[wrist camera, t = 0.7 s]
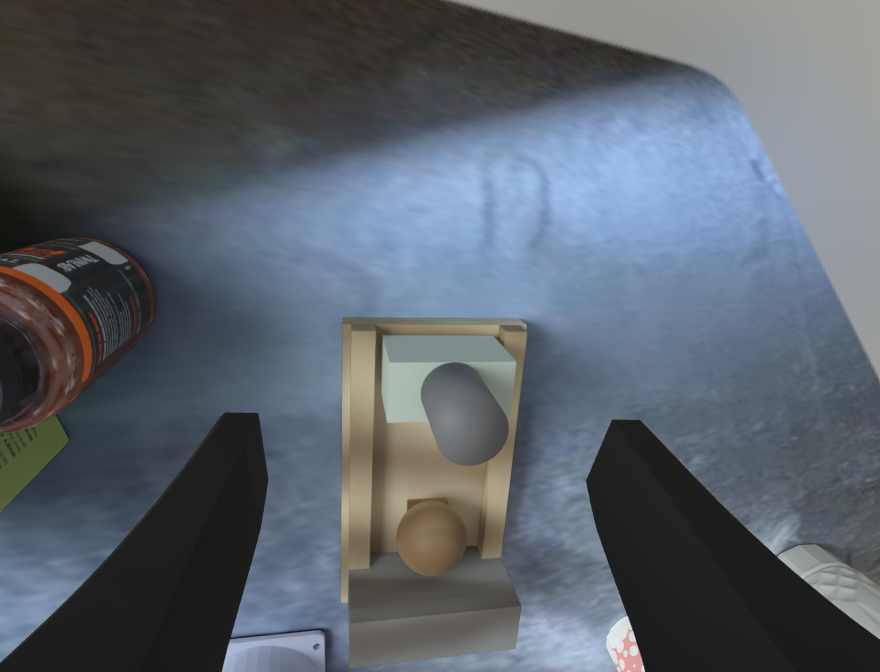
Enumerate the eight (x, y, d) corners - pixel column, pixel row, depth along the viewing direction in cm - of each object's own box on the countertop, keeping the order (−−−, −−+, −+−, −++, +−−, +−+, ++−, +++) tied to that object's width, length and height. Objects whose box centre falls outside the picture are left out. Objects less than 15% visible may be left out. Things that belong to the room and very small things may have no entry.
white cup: (737, 621, 42) (852, 754, 33) (763, 539, 40) (895, 655, 30) (820, 613, 44) (952, 737, 34) (850, 533, 41) (1001, 642, 32)
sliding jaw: (488, 386, 30) (539, 462, 22) (380, 388, 28) (396, 469, 21) (492, 335, 29) (548, 397, 21) (382, 335, 27) (399, 400, 20)
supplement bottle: (101, 209, 25) (-74, 246, 14) (185, 313, 27) (86, 413, 16) (-9, 275, 25) (-267, 361, 14) (83, 374, 27) (-80, 512, 16)
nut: (455, 540, 33) (471, 589, 29) (391, 545, 32) (398, 596, 28) (460, 484, 32) (477, 528, 28) (394, 488, 31) (402, 533, 27)
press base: (491, 574, 36) (521, 654, 30) (340, 588, 34) (341, 676, 28) (520, 319, 30) (563, 356, 24) (342, 317, 28) (344, 358, 23)
